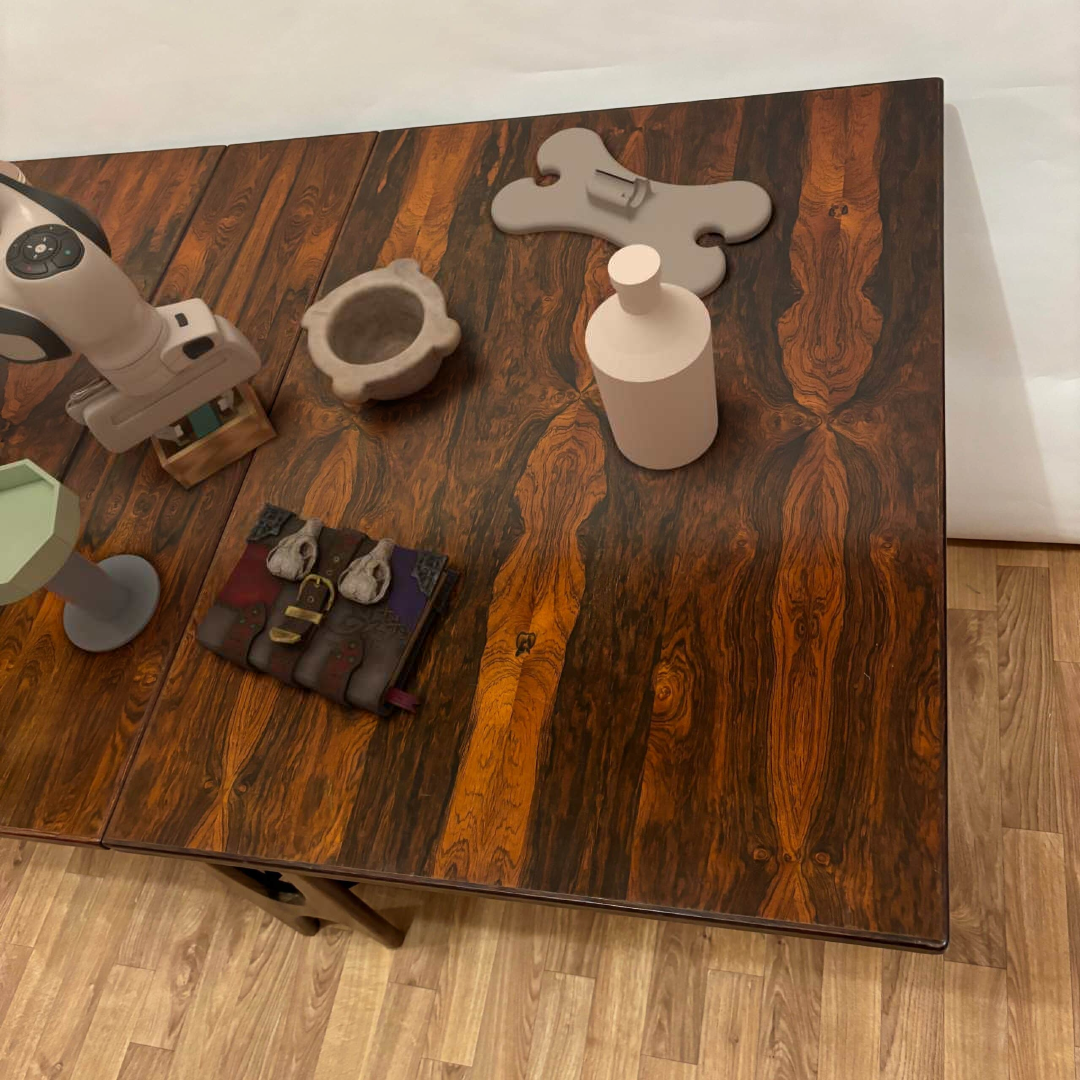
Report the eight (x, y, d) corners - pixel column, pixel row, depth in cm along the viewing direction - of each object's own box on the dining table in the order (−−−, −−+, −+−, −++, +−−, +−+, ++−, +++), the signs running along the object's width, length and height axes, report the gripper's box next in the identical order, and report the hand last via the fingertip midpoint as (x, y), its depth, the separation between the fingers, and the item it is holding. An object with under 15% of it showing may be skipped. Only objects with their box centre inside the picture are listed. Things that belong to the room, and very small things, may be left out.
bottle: (702, 369, 104) (680, 196, 83) (735, 454, 98) (721, 290, 77) (600, 402, 105) (553, 239, 84) (627, 487, 99) (584, 336, 78)
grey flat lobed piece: (565, 130, 128) (557, 99, 123) (786, 203, 112) (786, 170, 108) (480, 225, 123) (469, 195, 119) (698, 314, 108) (694, 284, 103)
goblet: (53, 674, 105) (-87, 606, 88) (67, 565, 112) (-61, 482, 95) (168, 647, 103) (47, 571, 86) (174, 537, 110) (64, 448, 93)
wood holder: (188, 491, 113) (162, 467, 108) (169, 444, 117) (143, 419, 113) (278, 437, 114) (256, 411, 109) (255, 392, 118) (233, 365, 113)
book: (205, 654, 102) (167, 629, 95) (286, 516, 108) (255, 484, 102) (408, 737, 92) (380, 715, 86) (484, 581, 98) (463, 549, 92)
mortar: (489, 384, 110) (466, 333, 102) (361, 449, 110) (329, 403, 102) (439, 295, 119) (415, 242, 111) (321, 355, 118) (288, 307, 111)
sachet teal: (207, 448, 112) (197, 439, 110) (196, 424, 114) (187, 414, 113) (228, 435, 112) (219, 426, 111) (217, 411, 115) (208, 401, 113)
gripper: (62, 423, 99) (140, 488, 111) (230, 324, 100) (289, 399, 112) (50, 385, 102) (126, 453, 114) (212, 290, 103) (271, 367, 115)
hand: (208, 426), depth 113 cm, fingers open, 5 cm apart
